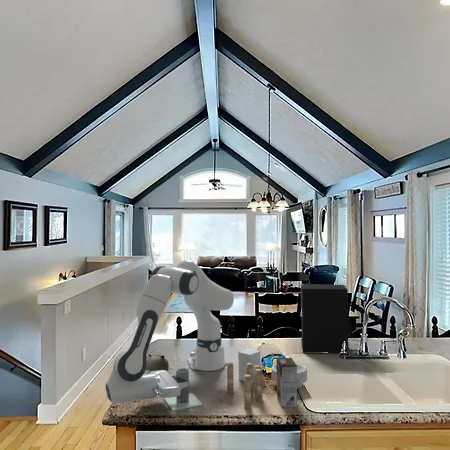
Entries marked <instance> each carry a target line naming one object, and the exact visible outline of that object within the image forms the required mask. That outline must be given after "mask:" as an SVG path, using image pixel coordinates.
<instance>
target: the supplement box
mask: <svg viewBox="0 0 450 450" xmlns="http://www.w3.org/2000/svg"><path fill="white" fill-rule="evenodd" d="M237 353H238V354H237V356H238V357H237V358H238V380H239V381H242V382H244V375H247V363H252V364H253V383H254V366H256V365H258V366H261V350H256V349H252V348H246V349H244V350H243V349H242V350H241V351H239V352H237Z"/></svg>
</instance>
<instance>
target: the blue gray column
mask: <svg viewBox="0 0 450 450" xmlns="http://www.w3.org/2000/svg"><path fill="white" fill-rule="evenodd" d="M189 373H190V370H189V369H188V368H185V367H183V368H181V367H180V368H177V369H176V371H175V375H176V380H175V381H176V382H177V383H182V382H183V381H187V382H188V387H184V388H182V389H181V394H180V396H178V397H176V402H178V403H187V402H188V401H189V393H190V379H189V378H190V374H189Z"/></svg>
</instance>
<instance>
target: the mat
mask: <svg viewBox="0 0 450 450" xmlns="http://www.w3.org/2000/svg"><path fill="white" fill-rule="evenodd" d="M163 400H164V401H165V403H166V404H167V406H168V407H169V409H170V410H171V412H175V411H176V412H177V411H180V410H186V409H190V408H197V407H202V406H203V403H202V402H201V401H200V399H198V397H197V396H196V395H195V394H194V393H193V392H189V401H188V402H187V403H178V402H176V397H170V398H163Z"/></svg>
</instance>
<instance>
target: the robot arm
mask: <svg viewBox="0 0 450 450" xmlns="http://www.w3.org/2000/svg"><path fill="white" fill-rule="evenodd" d="M142 289H143V290H142V291H141V293H140V296H139V299H138V301H137V305H136V309H135V315H136V317H137V328H136V330H135V333H134V336H133V338H132V342H131V343H130V346H129V348H128V350H127V351H123V352H121V353H119V354H118V355H117V356H116V358H115V359H114V362H113V366H112V369H111V373H110V376H109V377H108V380H107V381H106V382H105V393H106V396H107V399H108V400H109V402H110V403H113V404H126V403H130V402H131V403H132V402H134V401H137V400H139V401H140V400H141V401H145V400H149V399H155V398H157V396H159V397H160V398H163V399H164V398H170V397H178V396H180V394H181V389H182V388H184V387H188V382H187V381H183V382H182V383H177V382H176V374H171V373H169V371H168V372H167V371H165V370H158V371H151V372H150V371H146V362H147V356H148V355H147V354H148V349H149V347H150V344H151V341H152V338H153V336H154V332H155V329H156V328H157V326H158V323H159V321H160V319H161V318H162V315H163V313H164V312H165V309H166V307H167V305H168V301H169V299H170V294H175V295H183V296H184V303H185V305H186V306H187V307H188V309H190V310H191V311H192V313H193V315H194V317H195V319H196V324H197V339H196V345H195V346H194V347H193V348H192V351H191V352H189V356H190V357H188V358H187V362H188V365H189V367H190V369H191V370H194V371H195V370H199V371H204V372H205V371H206V372H211V371H212V372H214V371H218V370H222V369H223V368H224V367H225V366H227V363H228V361H226V359H225V348H224V347H223V346H222V337H221V322H220V320H219V319H218V318H217V317H216V316H215V315H213V313H212V311H218V312H219V311H228V310H230V309H231V308H232V306H233V305H234V300H235V297H234V294H233V292H232V291H231V290H230V289H228V288H225V287H223V286H221V285H219V284H217V283H216V282H214V281H213V280H211V279H210V278H209V277H208V276H207V275H206V274H205V272H204V271H203V269H202V268H201V267H200V266H199V265H198V264H197V263H195V262H194V261H193V260H191V259H184V260H182V261H180V262H179V263H178V264H177V267H174V266H165V265H160V266H156V267H155V268H154V269H153V270H152V272H151V274H150V277H149V279H148V281H147V282H146V284H145V286H144V287H143V288H142Z"/></svg>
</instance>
